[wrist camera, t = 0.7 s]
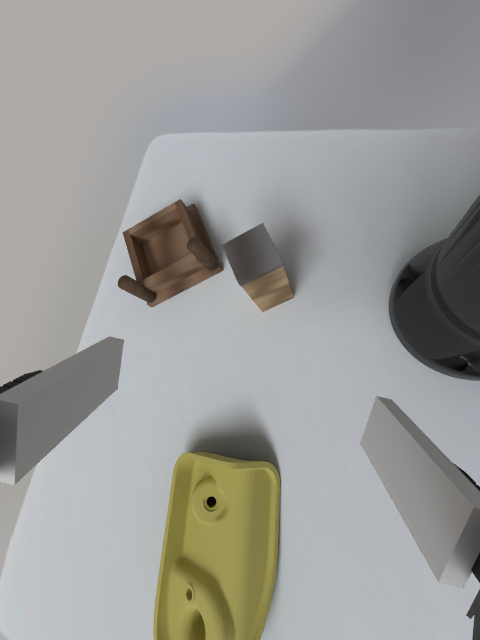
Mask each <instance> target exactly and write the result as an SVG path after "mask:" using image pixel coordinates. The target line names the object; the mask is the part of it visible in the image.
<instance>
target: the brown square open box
mask: <svg viewBox="0 0 480 640" xmlns="http://www.w3.org/2000/svg"><path fill="white" fill-rule="evenodd" d="M123 235H124V239H125V242H126V246H127V249H128V253H129V256H130V260H131V263H132V267H133V270H134V274H135V277H136V281H135V280H134V279H132V278H130V277H129V276H127V275H124V276H122V277H121V278H120V279H119V281H118V286H119V288H121V289H123V290H125V291H127V292H129V293H131V294H133V295H135V296H137V297H139V298H141V299H142V300H144V301H146V302H147V305H149V306H151V307H154V306H156V305H157V304H159V303H161V302H163V301H165V300H167V299H169V298H171V297H173V296H175V295H177V294H179V293H181V292H183V291H185V290H186V289H188V288H190V287H192V286H194V285H196V284H198V283H200V282H202V281H204V280H206V279H208V278H210V277H212V276H214V275H215V274H217V273H219V272H221V271H223V270H222V267H221V265H220V262H219V260H218V257H217V255H216V253H215V250H214V248H213V245H212V243H211V241H210V238H209V236H208V233H207V231H206V228H205V226H204V224H203V221H202V219H201V216H200V214H199V212H198V209H197V207H196V206H195V204H192V205H190V206H188V207H186V205H185V204H184V203H183V201H182V200H181V199H180V200H178V201H176V202H175V203H173V204H171V205H170V206H168V207H166V208H164V209H163V210H161V211H159V212H157V213H156V214H154V215H152V216H151V217H149V218H147V219H145V220H144V221H142V222H140V223H138V224H137V225H135V226H133V227H132V228H130V229H128V230H126V231H125V232H123Z"/></svg>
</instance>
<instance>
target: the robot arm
mask: <svg viewBox="0 0 480 640" xmlns="http://www.w3.org/2000/svg"><path fill="white" fill-rule="evenodd" d="M389 315H390V320H391V324H392V327H393V329H394V331H395V334H396V335H397V337H398V339H399V340H400V342H401V343H402V345H403V346H404V347H405V348H406V349H407V350H408V352H409V353H410V354H412V355H413V356H414V357H415V358H416V359H417V360H419V361H420V362H421V363H423V364H425V365H426V366H428V367H430V368H431V369H433V370H435V371H438V372H440V373H442V374H445V375H448V376H451V377H455V378H460V379H466V380H478V381H480V195H479V197H478V198H477V199H476V201H475V202H474V203H473V205H472V206H471V207H470V209H469V210H468V211H467V213H466V214H465V215H464V217H463V218H462V220H461V221H460V222H459V224H458V225H457V226H456V228H455V229H454V230H453V232H452V233H451V234H450V236H449V237H448V238H446V239H444V240H442V241H440V242H438V243H435V244H433V245H431V246H429V247H427V248H426V249H424V250H423V251H421V252H420V253H418V254H417V255H416V256H415V257H414V258H412V259H411V260H410V261H409V262H408V263H407V265H406V266H405V267H404V268H403V270H402V271H401V273H400V274H399V276H398V278H397V279H396V281H395V283H394V285H393V288H392V291H391V294H390V299H389ZM123 343H124V340H122V339H118V338H113V337H107V338H106V339H104V340H102V341H100V342H98V343H96V344H94V345H92V346H90V347H89V348H87V349H85V350H83V351H81V352H79V353H77V354H75V355H73V356H72V357H70V358H68V359H66V360H64V361H62V362H60V363H58V364H56V365H54V366H53V367H51V368H49V369H47V370H45V371H41V370H39V371H35V372H32V373H28V374H24V375H22V376H20V377H19V378H16V379H14V380H13V382H9V383H7V384H4V385H3V387H2V386H1V387H0V482H4V483H8V484H13V485H15V484H16V483H17V482H18V481H19V480H20V479H21V478H22V477H23V476H25V475H26V474H27V473H28V472H29V471H30V470H31V469H32V468H33V467H34V466H35V465H36V464H37V463H38V462H40V461H41V460H42V459H43V458H44V457H45V456H46V455H47V454H48V453H49V452H50V451H51V450H52V449H53V448H55V447H56V446H57V445H58V444H59V443H60V442H61V441H62V440H63V439H64V438H65V437H66V436H67V435H68V434H70V433H71V432H72V431H73V430H74V429H75V428H76V427H77V426H78V425H79V424H80V423H81V422H82V421H83V420H84V419H86V418H87V417H88V416H89V415H90V414H91V413H92V412H93V411H94V410H95V409H96V408H97V407H98V406H99V405H101V404H102V403H103V402H104V401H105V400H106V399H107V398H108V397H109V396H110V395H111V394H112V393H113V392H114V391H116V390H117V389H118V381H119V373H120V366H121V358H122V350H123ZM360 444H361V445H362V447H363V449H364V451H365V453H366V454H367V456H368V458H369V460H370V461H371V463H372V465H373V467H374V469H375V470H376V472H377V474H378V476H379V477H380V479H381V481H382V483H383V484H384V486H385V488H386V490H387V492H388V493H389V495H390V497H391V499H392V500H393V502H394V504H395V506H396V508H397V509H398V511H399V513H400V515H401V516H402V518H403V520H404V522H405V524H406V525H407V527H408V529H409V531H410V532H411V534H412V536H413V538H414V539H415V541H416V543H417V545H418V547H419V548H420V550H421V552H422V554H423V555H424V557H425V559H426V561H427V563H428V564H429V566H430V568H431V570H432V571H433V573H434V575H435V577H436V578H437V580H438V582H440V583H445V584H449V585H453V586H458V587H462V588H464V586H465V584H466V582H467V580H468V578H469V576H470V574H471V572H473V574H474V575H475V577H476V578H477V579H478V581H479V582H480V487H479V486H478V485H476V483H475V482H474V481H473V480H472V479H471V477H470V476H469V475H468V474H467V473H466V472H464V471H463V470H462V469H460V468H459V467H458V466H456V465H455V464H453V463H452V462H451V461H450V460H449V459H448V458H447V457H446V456H445V455H444V454H443V453H442V452H441V451H440V449H439V448H438V447H437V446H436V445H435V444H434V443H433V442H432V441H431V440H430V439H429V438H428V437H427V436H426V435H425V434H424V433H423V432H422V431H421V430H420V429H419V428H418V427H417V426H416V425H415V423H414V422H413V421H412V420H411V419H410V418H409V417H408V416H407V415H406V414H405V413H404V412H403V411H402V410H401V409H400V408H399V407H398V406H397V405H396V404H395V403H394V402H393V401H392V400H391V399H387V398H382V397H378V396H377V397H376V399H375V402H374V405H373V408H372V411H371V414H370V417H369V420H368V422H367V425H366V428H365V431H364V434H363V437H362V440H361V443H360ZM473 615H475V617H474V628H473V639H472V640H480V590H479V592H478V594H477V596H476V597H475V599H474V601H473V603H472V605H471V607H470V609H469V611H468V613H467V616H468V617H469V618H470V619H471V618H472V617H473Z"/></svg>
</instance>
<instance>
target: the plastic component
mask: <svg viewBox="0 0 480 640" xmlns="http://www.w3.org/2000/svg"><path fill="white" fill-rule="evenodd" d="M280 483H281V482H280V477H279V474H278V471H277V469H276V468H275V466H274V465H272V464H271V463H269V462H266V461H247V460H239V459H234V458H230V457H225V456H221V455H217V454H213V453H209V452H188V453H184V454H182V455H181V456H180V457H179V458H178V460H177V462H176V464H175V467H174V471H173V478H172V485H171V492H170V499H169V506H168V514H167V521H166V528H165V535H164V542H163V549H162V556H161V563H160V570H159V577H158V585H157V593H156V601H155V611H154V640H260V638H261V635H262V632H263V629H264V626H265V622H266V619H267V616H268V612H269V609H270V604H271V599H272V595H273V590H274V584H275V578H276V570H277V560H278V534H279V508H280ZM211 496H213V497H214V498H215V499H216V504H215V505H214V506H208V504H207V499H208V498H209V497H211ZM191 591H192V593H191Z"/></svg>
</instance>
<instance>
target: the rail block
mask: <svg viewBox="0 0 480 640" xmlns="http://www.w3.org/2000/svg"><path fill="white" fill-rule="evenodd" d="M222 247H223V249H224V251H225V254H226V256H227V258H228V261H229V263H230V265H231V268H232V270H233V272H234V275H235V277H236V279H237V282H238V283H239V285H240V286H241V287H243V289H244V290H245V291H246V292H247V294H248V295H249V296H250V297H251V299H252V300H253V301H254V302H255V304H256V305H257V306H258V307H259V309H260V310H261V311H262V312H264V311H267V310H269V309H271V308H273V307H275V306H277V305H279V304H281V303H283V302H285V301H288V300H290V299H292V298H294V295H293V293H292V290H291V287H290V284H289V281H288V278H287V276H286V273H285V270H284V267H283V266H284V265H283V262H282V260H281V258H280V256H279V254H278V252H277V250H276V248H275V246H274V244H273V242H272V240H271V238H270V236H269V234H268V232H267V230H266V228H265V226H264V224H263V223H262V224H260V225H258V226H256V227H254V228H253V229H251V230H249V231H247V232H245V233H243V234H241V235H239V236H238V237H236V238H234V239H232V240H230V241H228V242H226V243H224V244H223V245H222Z"/></svg>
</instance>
